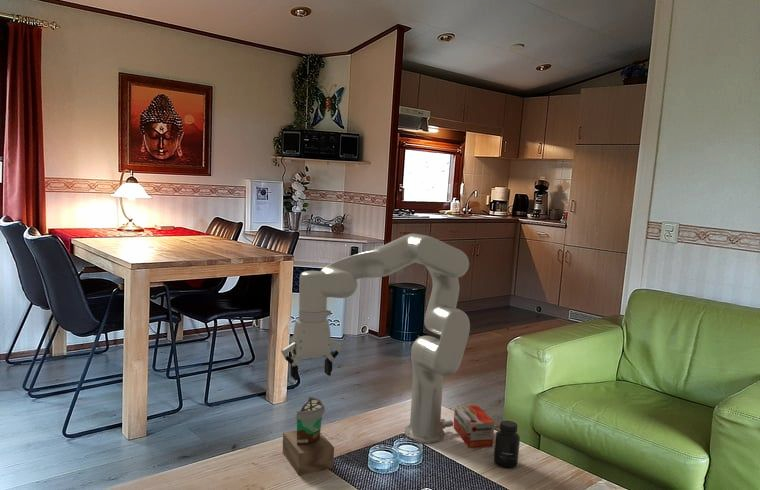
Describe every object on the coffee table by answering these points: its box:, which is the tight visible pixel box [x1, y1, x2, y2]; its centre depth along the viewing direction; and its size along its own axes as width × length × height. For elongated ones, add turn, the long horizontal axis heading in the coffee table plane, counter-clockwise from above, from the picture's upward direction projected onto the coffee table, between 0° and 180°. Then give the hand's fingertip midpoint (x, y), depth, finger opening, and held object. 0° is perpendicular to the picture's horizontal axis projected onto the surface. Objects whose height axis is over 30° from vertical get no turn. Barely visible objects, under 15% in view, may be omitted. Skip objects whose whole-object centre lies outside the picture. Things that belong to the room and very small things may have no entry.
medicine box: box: [453, 404, 495, 449], centre depth 180 cm, size 15×8×8 cm, turn 12°
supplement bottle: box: [493, 420, 521, 470], centre depth 164 cm, size 7×7×12 cm
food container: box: [296, 396, 326, 445], centre depth 160 cm, size 12×6×10 cm, turn 171°
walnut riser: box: [282, 429, 335, 476], centre depth 160 cm, size 10×14×6 cm
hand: (311, 376), depth 158 cm, fingers open, 9 cm apart
